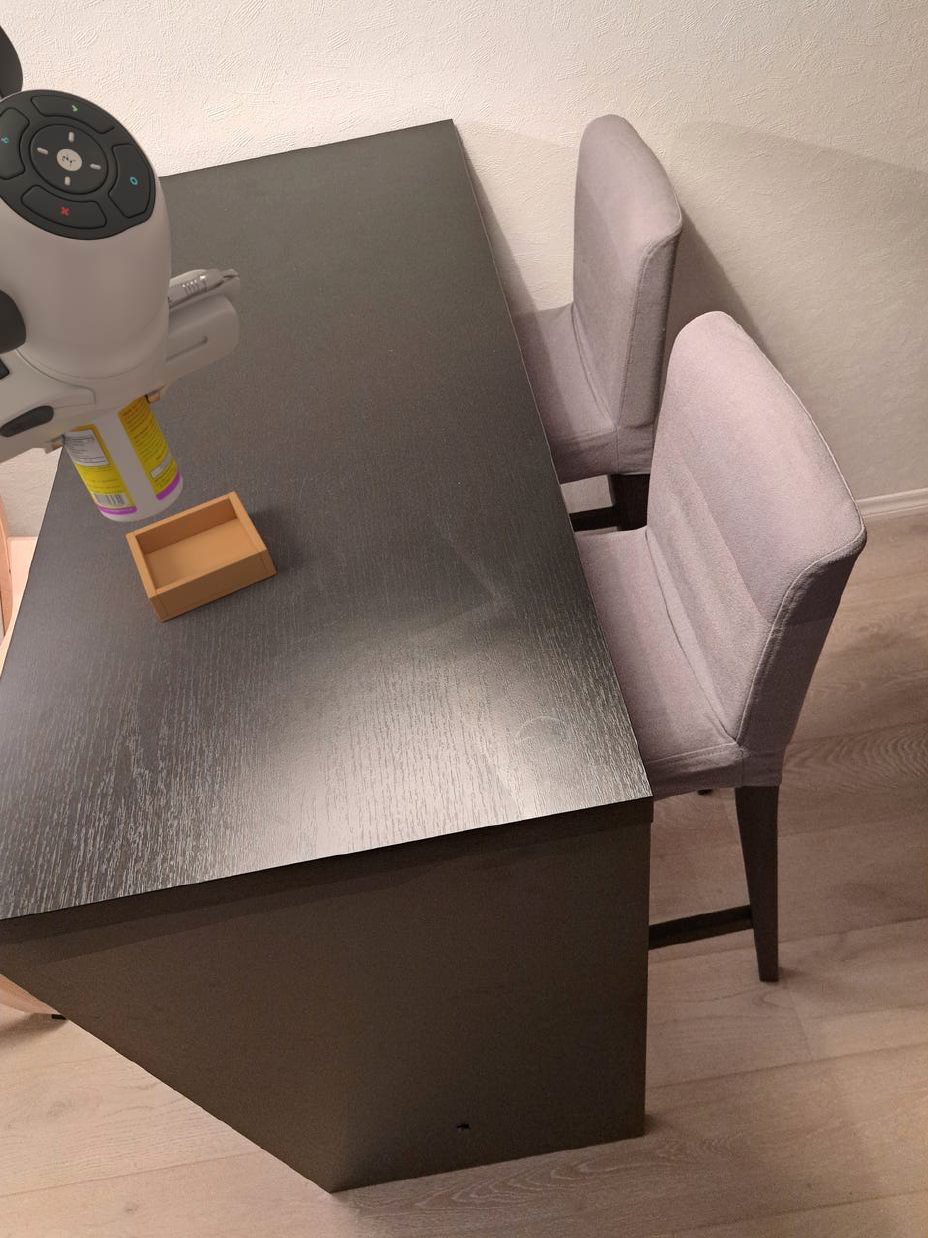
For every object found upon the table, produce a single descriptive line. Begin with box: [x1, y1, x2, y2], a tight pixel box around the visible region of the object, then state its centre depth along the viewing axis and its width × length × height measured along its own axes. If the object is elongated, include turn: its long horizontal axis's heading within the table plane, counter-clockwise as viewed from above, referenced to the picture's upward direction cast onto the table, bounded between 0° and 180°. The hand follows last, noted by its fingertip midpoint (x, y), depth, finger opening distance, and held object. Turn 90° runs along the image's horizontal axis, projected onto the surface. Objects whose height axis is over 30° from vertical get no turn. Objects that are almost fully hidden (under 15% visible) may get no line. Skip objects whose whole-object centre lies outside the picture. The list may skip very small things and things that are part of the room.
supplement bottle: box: [62, 395, 184, 523], centre depth 69 cm, size 7×7×13 cm
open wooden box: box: [125, 490, 277, 623], centre depth 89 cm, size 11×11×3 cm
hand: (100, 416), depth 69 cm, fingers closed on supplement bottle, 6 cm apart
